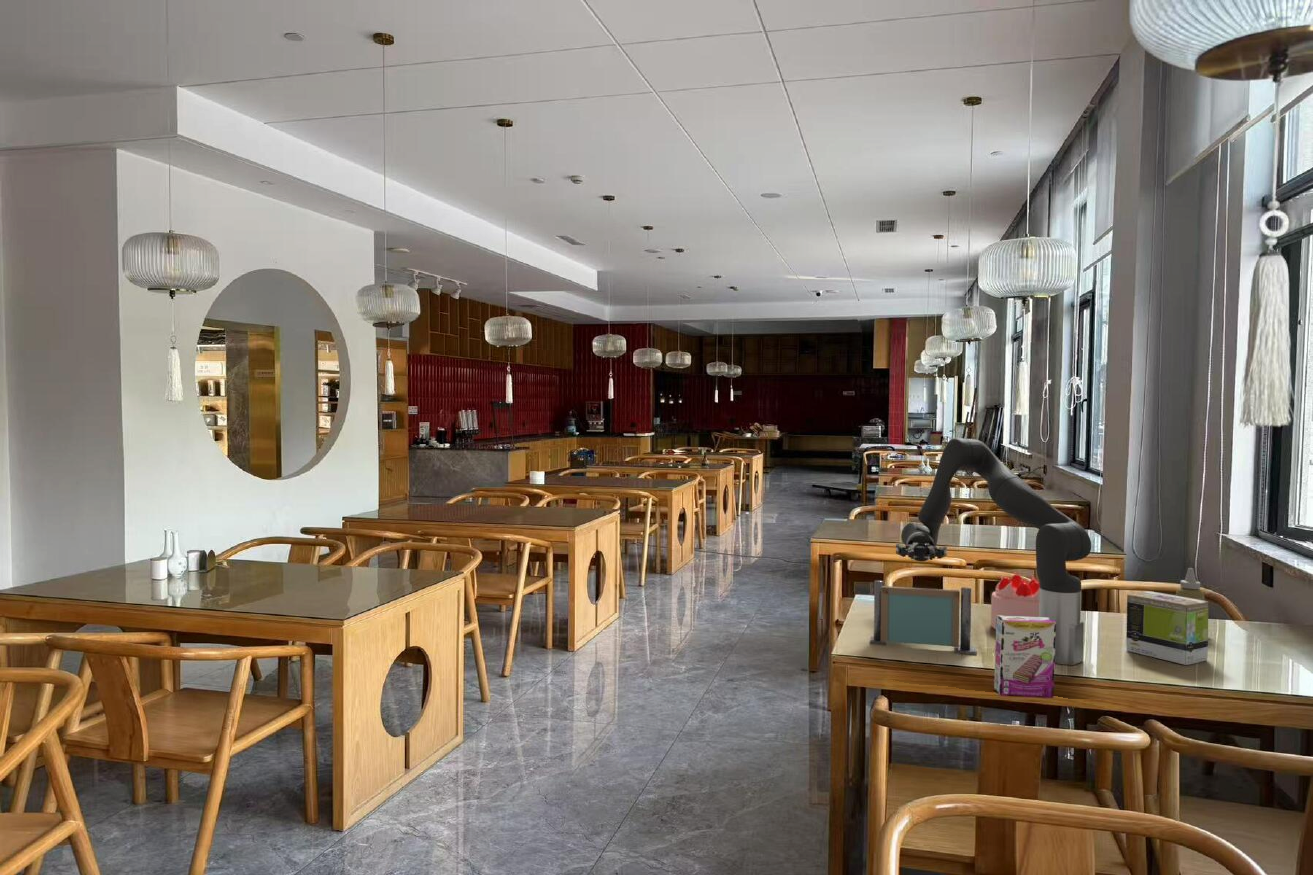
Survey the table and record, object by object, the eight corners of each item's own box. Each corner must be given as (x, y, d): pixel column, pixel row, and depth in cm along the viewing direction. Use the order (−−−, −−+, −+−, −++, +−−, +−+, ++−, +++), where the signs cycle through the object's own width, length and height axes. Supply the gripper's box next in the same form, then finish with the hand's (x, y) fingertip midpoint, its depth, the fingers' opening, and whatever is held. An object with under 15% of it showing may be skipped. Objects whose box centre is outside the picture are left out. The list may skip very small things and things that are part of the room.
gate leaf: (958, 645, 217) (959, 590, 217) (958, 647, 216) (959, 591, 215) (880, 639, 223) (881, 585, 222) (880, 641, 221) (881, 587, 220)
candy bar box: (1000, 697, 182) (1001, 620, 181) (993, 689, 187) (994, 614, 186) (1055, 699, 181) (1056, 621, 180) (1047, 691, 186) (1048, 616, 185)
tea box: (1208, 660, 209) (1210, 600, 209) (1185, 666, 204) (1187, 604, 204) (1147, 645, 222) (1149, 589, 222) (1124, 651, 217) (1125, 593, 217)
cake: (987, 619, 250) (988, 570, 250) (1062, 623, 245) (1063, 574, 245) (994, 635, 232) (995, 583, 231) (1076, 641, 226) (1077, 587, 226)
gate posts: (974, 647, 220) (975, 585, 219) (976, 654, 213) (977, 590, 213) (870, 639, 227) (871, 579, 226) (869, 646, 220) (870, 584, 220)
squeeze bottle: (1175, 636, 232) (1177, 569, 231) (1168, 629, 239) (1170, 564, 239) (1210, 639, 229) (1212, 571, 228) (1202, 631, 237) (1203, 566, 236)
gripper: (894, 531, 246) (894, 540, 230) (947, 533, 242) (950, 542, 226) (894, 557, 247) (893, 568, 230) (946, 560, 243) (949, 571, 226)
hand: (921, 555), depth 228 cm, fingers open, 4 cm apart
